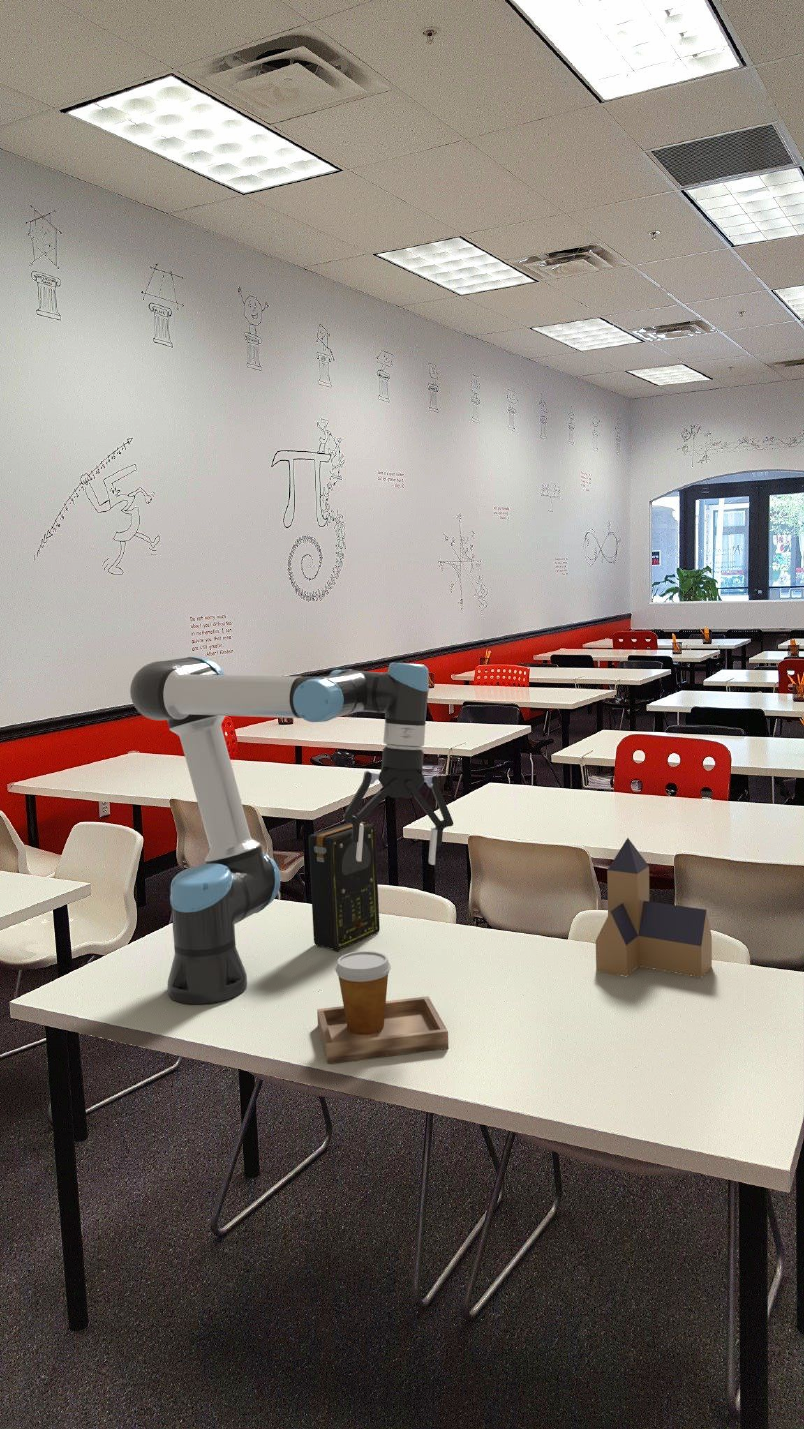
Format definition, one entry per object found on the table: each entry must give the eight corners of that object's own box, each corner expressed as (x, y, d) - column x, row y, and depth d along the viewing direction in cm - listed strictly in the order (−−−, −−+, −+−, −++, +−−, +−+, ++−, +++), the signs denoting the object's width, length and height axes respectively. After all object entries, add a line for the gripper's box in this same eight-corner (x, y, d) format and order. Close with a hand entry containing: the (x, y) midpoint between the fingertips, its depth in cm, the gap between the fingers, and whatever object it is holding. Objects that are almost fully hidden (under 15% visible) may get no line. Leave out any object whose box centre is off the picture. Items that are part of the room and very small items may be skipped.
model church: (620, 951, 206) (618, 832, 203) (711, 967, 196) (711, 842, 193) (596, 971, 196) (593, 846, 193) (690, 989, 186) (689, 857, 183)
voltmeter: (338, 954, 211) (333, 838, 208) (308, 946, 216) (302, 833, 213) (384, 932, 223) (379, 822, 220) (354, 926, 228) (349, 818, 225)
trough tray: (327, 1063, 161) (326, 1046, 161) (317, 1025, 176) (317, 1009, 176) (448, 1048, 165) (447, 1031, 165) (429, 1012, 180) (428, 996, 179)
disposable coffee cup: (404, 1025, 172) (402, 958, 171) (364, 1044, 166) (361, 974, 164) (366, 1010, 179) (363, 946, 178) (326, 1028, 172) (323, 961, 171)
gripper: (337, 744, 179) (329, 862, 180) (474, 753, 182) (465, 868, 183) (334, 741, 186) (326, 854, 187) (466, 749, 190) (457, 860, 190)
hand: (395, 861), depth 185 cm, fingers open, 13 cm apart
